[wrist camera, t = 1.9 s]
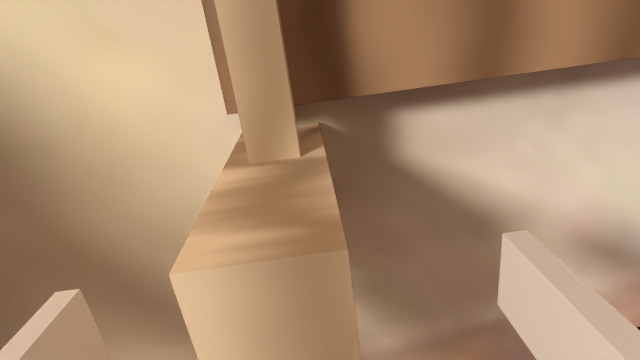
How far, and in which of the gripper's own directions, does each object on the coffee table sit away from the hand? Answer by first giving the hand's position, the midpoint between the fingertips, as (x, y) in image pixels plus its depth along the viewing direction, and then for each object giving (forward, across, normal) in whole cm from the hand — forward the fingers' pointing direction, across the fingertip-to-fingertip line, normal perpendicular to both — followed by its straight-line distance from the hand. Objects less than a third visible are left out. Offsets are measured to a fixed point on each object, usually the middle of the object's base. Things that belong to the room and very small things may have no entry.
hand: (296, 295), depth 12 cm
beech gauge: (+9, 0, +5) cm, 11 cm away
